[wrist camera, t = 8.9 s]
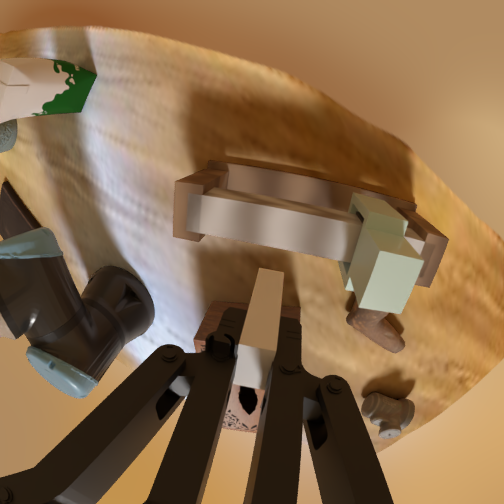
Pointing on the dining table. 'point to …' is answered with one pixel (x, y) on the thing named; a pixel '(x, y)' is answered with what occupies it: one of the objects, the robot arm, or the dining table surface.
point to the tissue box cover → (239, 406)
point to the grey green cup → (8, 135)
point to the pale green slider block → (381, 258)
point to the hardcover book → (14, 214)
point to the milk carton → (41, 87)
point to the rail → (296, 194)
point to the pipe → (375, 327)
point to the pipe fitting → (388, 413)
